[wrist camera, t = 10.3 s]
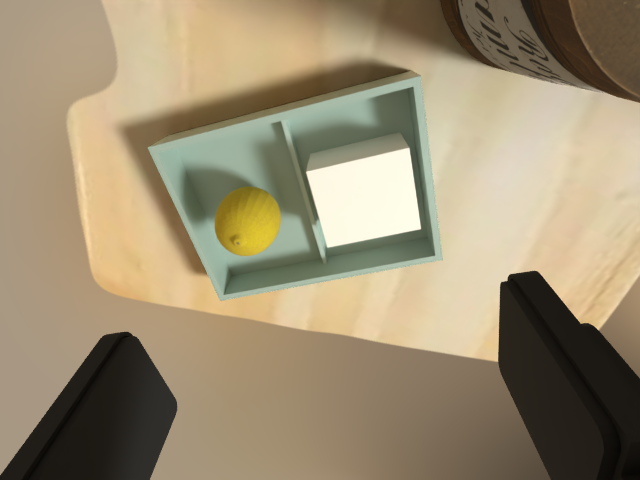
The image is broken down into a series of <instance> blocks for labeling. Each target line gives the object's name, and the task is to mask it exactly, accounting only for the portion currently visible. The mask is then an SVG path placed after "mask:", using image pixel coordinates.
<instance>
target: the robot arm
mask: <svg viewBox="0 0 640 480" xmlns="http://www.w3.org/2000/svg"><path fill="white" fill-rule="evenodd" d="M498 363H499V368H500V372H501V375H502V377H503V379H504V381H505V383H506V385H507V387H508V390H509V391H510V394H511V396H512V398H513V400H514V402H515V404H516V407H517V409H518V411H519V413H520V415H521V417H522V419H523V421H524V424H525V426H526V428H527V430H528V432H529V434H530V436H531V438H532V440H533V443H534V445H535V447H536V449H537V451H538V453H539V455H540V457H541V459H542V462H543V464H544V466H545V468H546V470H547V472H548V474H549V476H550V478H551V480H640V378H639V377H638V376H637V375H636V374H635V373H634V371H633V370H632V369H631V368H630V367H629V365H628V364H627V363H626V362H625V361H624V360H623V358H622V357H621V356H620V355H619V354H618V353H617V351H616V350H615V349H614V348H613V347H612V346H611V344H610V343H609V342H608V341H607V340H606V339H605V338H604V336H603V335H602V334H601V333H600V331H598V330H597V329H596V328H595V327H594V326H593V325H591V324H589V323H583V324H580V322H579V321H578V320H577V319H576V317H575V316H574V315H573V314H572V313H571V311H570V310H569V309H568V308H567V306H566V305H565V304H564V303H563V301H562V300H561V299H560V298H559V297H558V295H557V294H556V293H555V292H554V290H553V289H552V288H551V287H550V285H549V284H548V283H547V282H546V281H545V279H544V278H543V277H542V276H541V274H540V273H539V272H537V271H530V272H523V273H516V274H510V275H509V276H508V281H505V282H501V285H500V315H499V352H498ZM176 412H177V402H176V399H175V397H174V396H173V394H172V392H171V391H170V389H169V388H168V386H167V384H166V383H165V381H164V379H163V378H162V376H161V375H160V373H159V371H158V370H157V368H156V367H155V365H154V363H153V362H152V361H151V359H150V357H149V355H148V354H147V352H146V351H145V349H144V347H143V346H142V344H141V342H140V341H139V339H138V338H137V337H135V336H133V335H132V334H131V333H129V332H120V333H114V334H107V335H104V336H103V337H102V338H101V339H100V340H99V341H98V343H97V344H96V346H95V347H94V348H93V350H92V351H91V352H90V354H89V355H88V356H87V358H86V359H85V361H84V362H83V363H82V365H81V366H80V367H79V369H78V370H77V372H76V373H75V374H74V376H73V377H72V378H71V380H70V381H69V382H68V384H67V385H66V387H65V388H64V389H63V391H62V392H61V393H60V395H59V396H58V398H57V399H56V400H55V402H54V403H53V404H52V406H51V407H50V408H49V410H48V411H47V412H46V414H45V415H44V417H43V418H42V419H41V421H40V422H39V424H38V425H37V426H36V428H35V429H34V430H33V432H32V433H31V434H30V436H29V437H28V439H27V440H26V441H25V443H24V444H23V445H22V447H21V448H20V449H19V451H18V452H17V454H16V455H15V456H14V458H13V459H12V460H11V462H10V463H9V464H8V466H7V467H6V469H5V470H4V471H3V473H2V474H1V475H0V480H150V477H151V475H152V473H153V470H154V467H155V465H156V463H157V460H158V458H159V455H160V452H161V450H162V447H163V445H164V442H165V440H166V438H167V435H168V433H169V430H170V428H171V425H172V422H173V420H174V418H175V415H176Z"/></svg>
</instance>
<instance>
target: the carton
mask: <svg viewBox="0 0 640 480" xmlns="http://www.w3.org/2000/svg"><path fill="white" fill-rule="evenodd" d="M306 174H307V177H308V181H309V184H310V188H311V191H312V195H313V198H314V202H315V205H316V209H317V212H318V216H319V219H320V223H321V226H322V230H323V233H324V237H325V240H326V244H327V247H333V246H339V245H344V244H349V243H354V242H359V241H364V240H369V239H374V238H379V237H384V236H389V235H394V234H399V233H404V232H409V231H414V230H419V229H421V225H420V218H419V211H418V204H417V197H416V190H415V183H414V176H413V170H412V163H411V156H410V149H409V146H408V145H407V143H406V141H405V140H404V138H403V136H402V135H401V133H400V132H398V133H394V134H390V135H385V136H381V137H377V138H373V139H369V140H365V141H361V142H356V143H352V144H348V145H344V146H340V147H336V148H332V149H327V150H323V151H319V152H315V153H311V154H310V157H309V162H308V166H307V170H306Z"/></svg>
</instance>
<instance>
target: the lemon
mask: <svg viewBox="0 0 640 480" xmlns="http://www.w3.org/2000/svg"><path fill="white" fill-rule="evenodd" d="M280 224H281V213H280V209H279V206H278V204H277V202H276V201H275V199H274V198H273V197H272V196H271V195H270V194H269V193H268V192H266V191H265V190H263V189H260V188H257V187H250V186H247V187H241V188H238V189H236V190H234V191H232V192H231V193H229V194H228V195H227V196H226V197H225V198H224V199H223V200H222V202H221V203H220V205H219V207H218V209H217V212H216V216H215V233H216V236H217V239H218V240H219V242H220V244H221V245H222V246H223V247H224V248H225V249H226V250H228V251H229V252H231V253H233V254H236V255H240V256H252V255H256V254H258V253H260V252H262V251H264V250H265V249H266V248H267V247H269V246H270V245H271V244H272V242H273V241H274V239H275V238H276V236H277V234H278V232H279V228H280Z"/></svg>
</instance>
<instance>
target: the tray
mask: <svg viewBox="0 0 640 480" xmlns="http://www.w3.org/2000/svg"><path fill="white" fill-rule="evenodd" d="M398 132H400V133H401V135H402V136H403V138H404V140H405V141H406V143H407V145H408V146H409V149H410V156H411V163H412V170H413V176H414V183H415V190H416V197H417V204H418V211H419V218H420V225H421V229H419V230H414V231H409V232H404V233H399V234H394V235H389V236H384V237H379V238H374V239H369V240H364V241H359V242H354V243H349V244H344V245H339V246H333V247H327V244H326V240H325V237H324V233H323V230H322V226H321V223H320V219H319V216H318V212H317V209H316V205H315V202H314V198H313V195H312V191H311V188H310V184H309V181H308V177H307V174H306V170H307V166H308V162H309V157H310V154H311V153H315V152H319V151H323V150H327V149H332V148H336V147H340V146H344V145H348V144H352V143H356V142H361V141H365V140H369V139H373V138H377V137H381V136H385V135H390V134H394V133H398ZM148 150H149V152H150V154H151V156H152V158H153V161H154V163H155V165H156V167H157V169H158V171H159V173H160V175H161V177H162V179H163V182H164V184H165V186H166V188H167V190H168V192H169V194H170V196H171V198H172V201H173V203H174V205H175V207H176V209H177V211H178V213H179V215H180V217H181V219H182V222H183V224H184V226H185V228H186V230H187V232H188V234H189V236H190V238H191V240H192V243H193V245H194V247H195V249H196V251H197V253H198V255H199V257H200V259H201V261H202V264H203V266H204V268H205V270H206V272H207V274H208V276H209V278H210V280H211V282H212V285H213V287H214V289H215V291H216V293H217V295H218V297H219V299H220V301H222V300H228V299H233V298H239V297H244V296H250V295H255V294H260V293H266V292H271V291H277V290H282V289H288V288H293V287H298V286H304V285H309V284H315V283H320V282H326V281H331V280H336V279H342V278H347V277H353V276H358V275H364V274H369V273H374V272H380V271H385V270H391V269H396V268H402V267H407V266H413V265H418V264H423V263H429V262H434V261H440V260H443V258H442V249H441V241H440V233H439V224H438V216H437V207H436V199H435V191H434V182H433V174H432V166H431V157H430V149H429V140H428V132H427V124H426V115H425V107H424V99H423V90H422V82H421V76H420V75H418V74H417V73H415V72H413V71H408V72H405V73H401V74H397V75H393V76H390V77H386V78H382V79H378V80H375V81H371V82H367V83H363V84H360V85H356V86H352V87H348V88H345V89H341V90H337V91H333V92H330V93H326V94H322V95H318V96H315V97H311V98H307V99H303V100H299V101H296V102H292V103H288V104H284V105H281V106H277V107H273V108H269V109H266V110H262V111H258V112H254V113H251V114H247V115H243V116H239V117H236V118H232V119H228V120H224V121H221V122H217V123H213V124H209V125H206V126H202V127H198V128H194V129H191V130H187V131H183V132H179V133H175V134H172V135H168V136H166V137H164V138H163V139H161V140H159V141H158V142H156V143H154V144H153V145H151V146H149V147H148ZM247 186H250V187H257V188H260V189H263V190H265V191H266V192H268V193H269V194H270V195H271V196H272V197H273V198H274V199H275V201H276V202H277V204H278V206H279V209H280V213H281V224H280V228H279V232H278V234H277V236H276V238H275V239H274V241H273V242H272V244H271V245H270V246H269V247H267V248H266V249H265V250H264V251H262V252H260V253H258V254H256V255H252V256H240V255H236V254H233V253H231V252H229V251H228V250H226V249H225V248H224V247H223V246H222V245H221V244H220V242H219V240H218V239H217V236H216V233H215V216H216V212H217V209H218V207H219V205H220V203H221V202H222V200H223V199H224V198H225V197H226V196H227V195H228V194H229V193H231V192H232V191H234V190H236V189H238V188H241V187H247Z"/></svg>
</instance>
